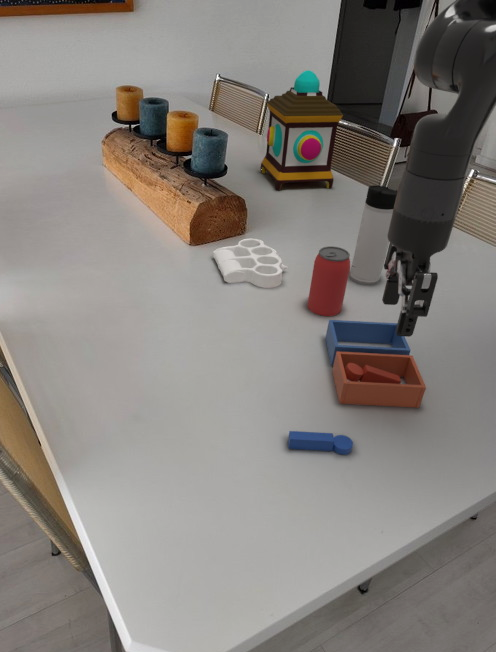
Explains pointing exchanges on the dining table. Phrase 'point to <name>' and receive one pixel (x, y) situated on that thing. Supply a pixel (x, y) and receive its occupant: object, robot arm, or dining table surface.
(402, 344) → the blue bin
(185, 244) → the dining table surface
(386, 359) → the terracotta bin
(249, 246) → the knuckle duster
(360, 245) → the travel mug
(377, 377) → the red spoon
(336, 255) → the beer can
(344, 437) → the blue spoon
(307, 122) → the decorative lantern
